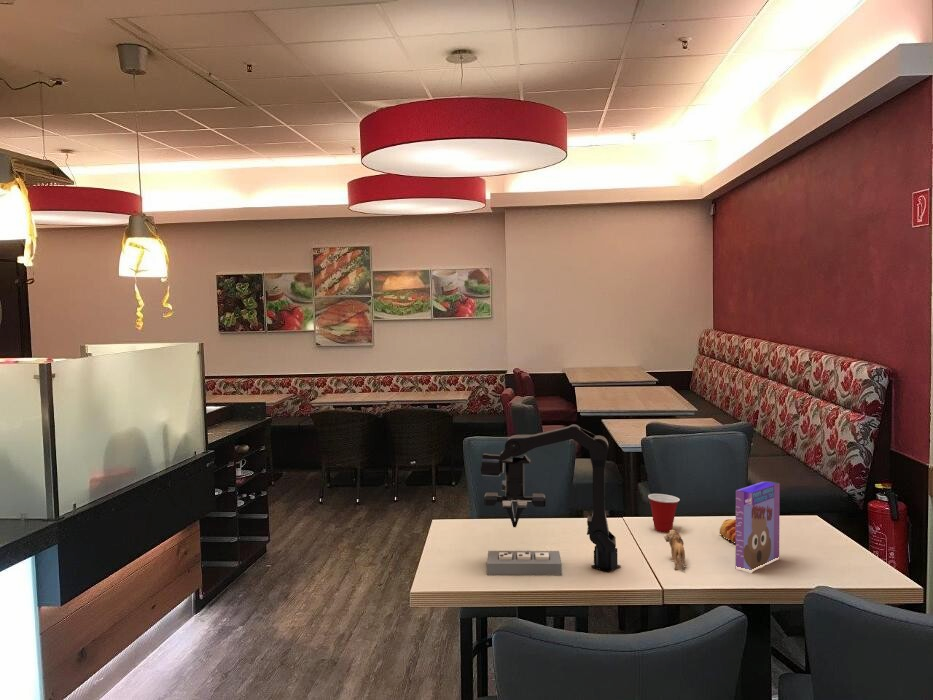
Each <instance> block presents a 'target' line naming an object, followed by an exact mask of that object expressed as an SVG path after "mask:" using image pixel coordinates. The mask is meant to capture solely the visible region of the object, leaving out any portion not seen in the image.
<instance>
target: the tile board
mask: <svg viewBox="0 0 933 700" xmlns="http://www.w3.org/2000/svg"><path fill="white" fill-rule="evenodd" d="M499 552H512V560H499ZM517 552H530V555H531V560H517ZM535 552H548V553H549V560H535ZM561 558H562V557H561V553H560V550H488V551H487V558H486V559H487V560H486V575H487V576H489V575H490V576H562V575H563V573H562V572H563V571H562V570H563V568H562V567H563V566H562V559H561Z"/></svg>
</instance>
